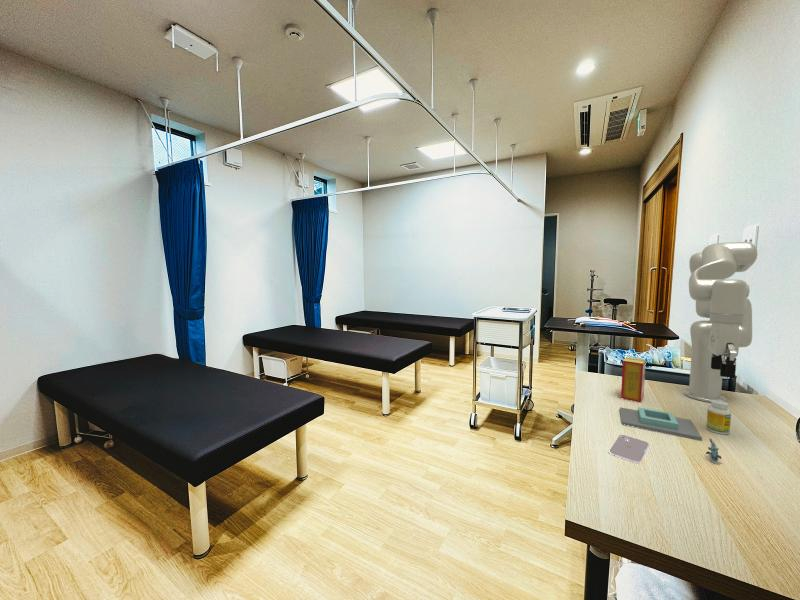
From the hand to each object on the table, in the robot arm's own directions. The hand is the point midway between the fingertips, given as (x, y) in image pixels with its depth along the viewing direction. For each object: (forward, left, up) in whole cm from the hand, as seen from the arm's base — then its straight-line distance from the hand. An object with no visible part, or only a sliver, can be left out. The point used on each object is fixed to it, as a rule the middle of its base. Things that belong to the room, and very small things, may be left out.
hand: (722, 373), depth 102 cm
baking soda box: (-21, -21, -19) cm, 36 cm away
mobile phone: (+28, -25, -20) cm, 42 cm away
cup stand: (+4, -16, -19) cm, 25 cm away
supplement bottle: (0, 0, -19) cm, 19 cm away
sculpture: (+23, -6, -20) cm, 31 cm away
